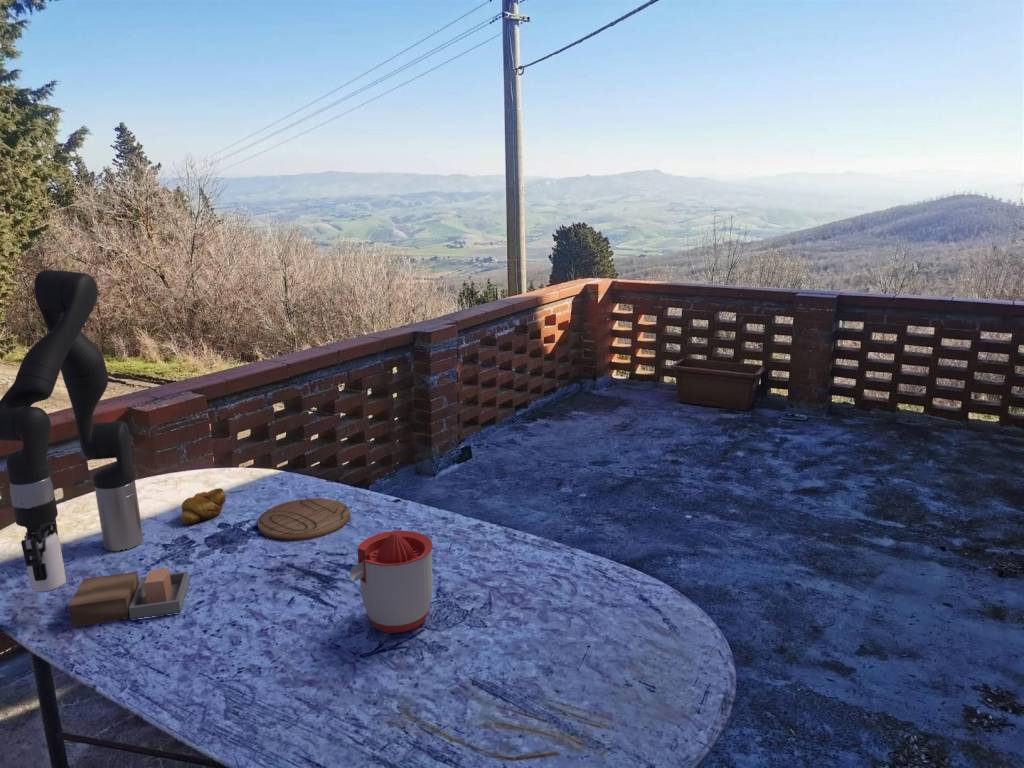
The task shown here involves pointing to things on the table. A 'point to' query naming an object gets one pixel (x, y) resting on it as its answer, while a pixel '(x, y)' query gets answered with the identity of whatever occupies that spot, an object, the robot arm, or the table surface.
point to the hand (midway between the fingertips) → (46, 571)
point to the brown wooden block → (103, 599)
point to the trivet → (303, 519)
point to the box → (172, 606)
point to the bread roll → (203, 506)
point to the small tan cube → (158, 586)
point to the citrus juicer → (395, 579)
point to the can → (49, 566)
